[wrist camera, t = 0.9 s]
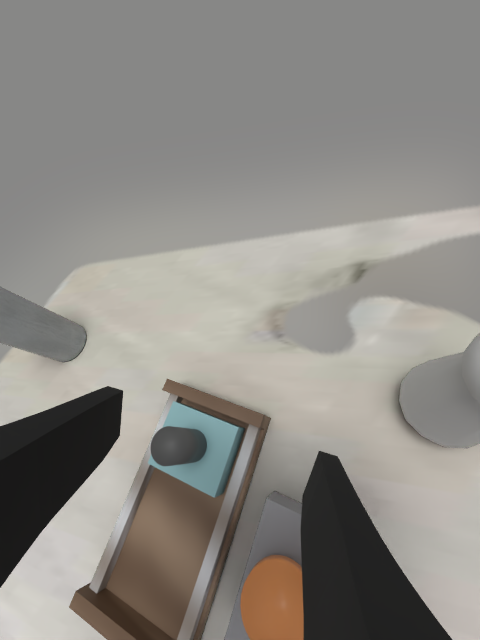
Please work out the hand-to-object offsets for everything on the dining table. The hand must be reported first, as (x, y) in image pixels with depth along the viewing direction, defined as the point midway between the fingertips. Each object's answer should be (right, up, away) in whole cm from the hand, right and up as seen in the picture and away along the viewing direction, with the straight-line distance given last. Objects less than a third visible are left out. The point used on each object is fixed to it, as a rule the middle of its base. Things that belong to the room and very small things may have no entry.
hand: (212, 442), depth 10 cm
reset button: (+4, -12, +9) cm, 16 cm away
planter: (-18, +2, +24) cm, 30 cm away
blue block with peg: (-2, -6, +14) cm, 16 cm away
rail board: (-3, -11, +14) cm, 18 cm away
